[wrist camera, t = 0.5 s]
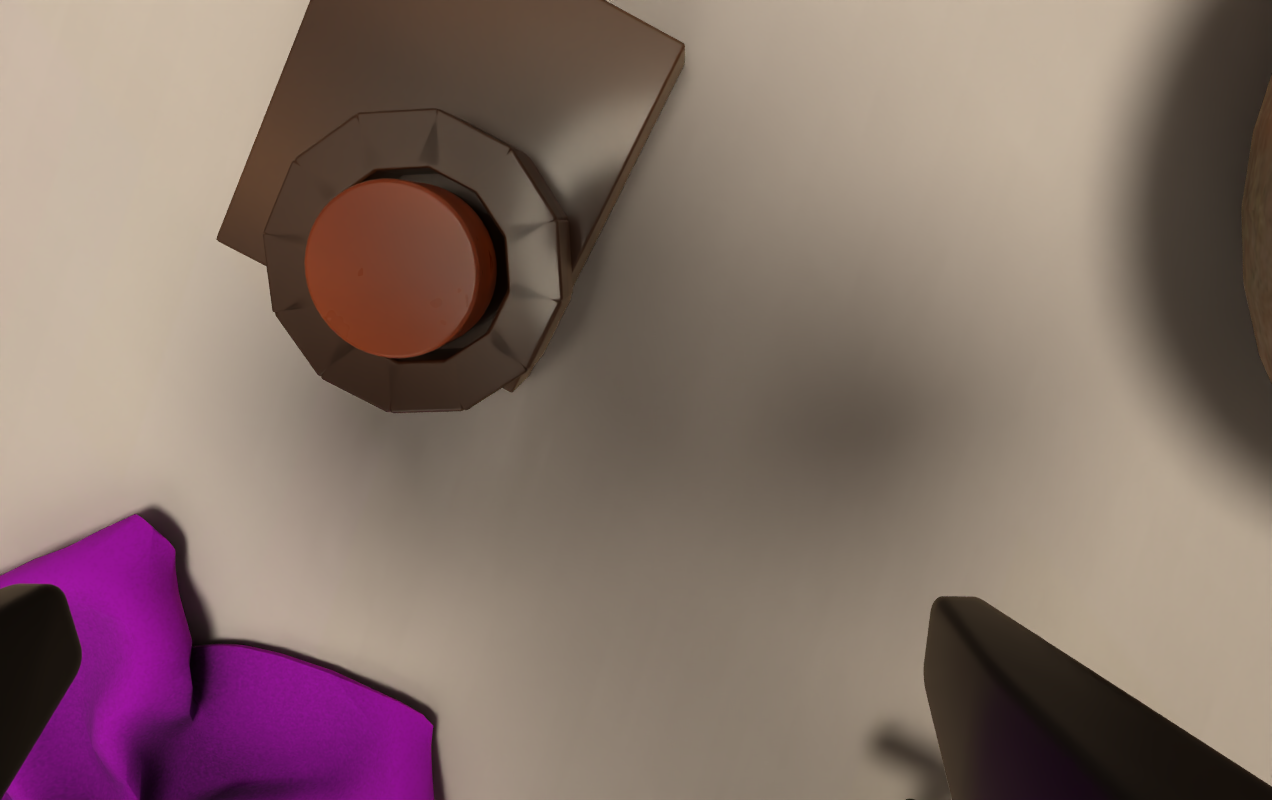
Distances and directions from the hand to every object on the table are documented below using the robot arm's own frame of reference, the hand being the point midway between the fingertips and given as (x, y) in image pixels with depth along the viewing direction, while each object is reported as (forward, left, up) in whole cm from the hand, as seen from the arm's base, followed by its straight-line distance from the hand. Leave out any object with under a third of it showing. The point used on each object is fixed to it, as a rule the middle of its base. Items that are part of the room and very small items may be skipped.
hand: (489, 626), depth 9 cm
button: (+1, +5, -11) cm, 12 cm away
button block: (+3, +6, -14) cm, 16 cm away
